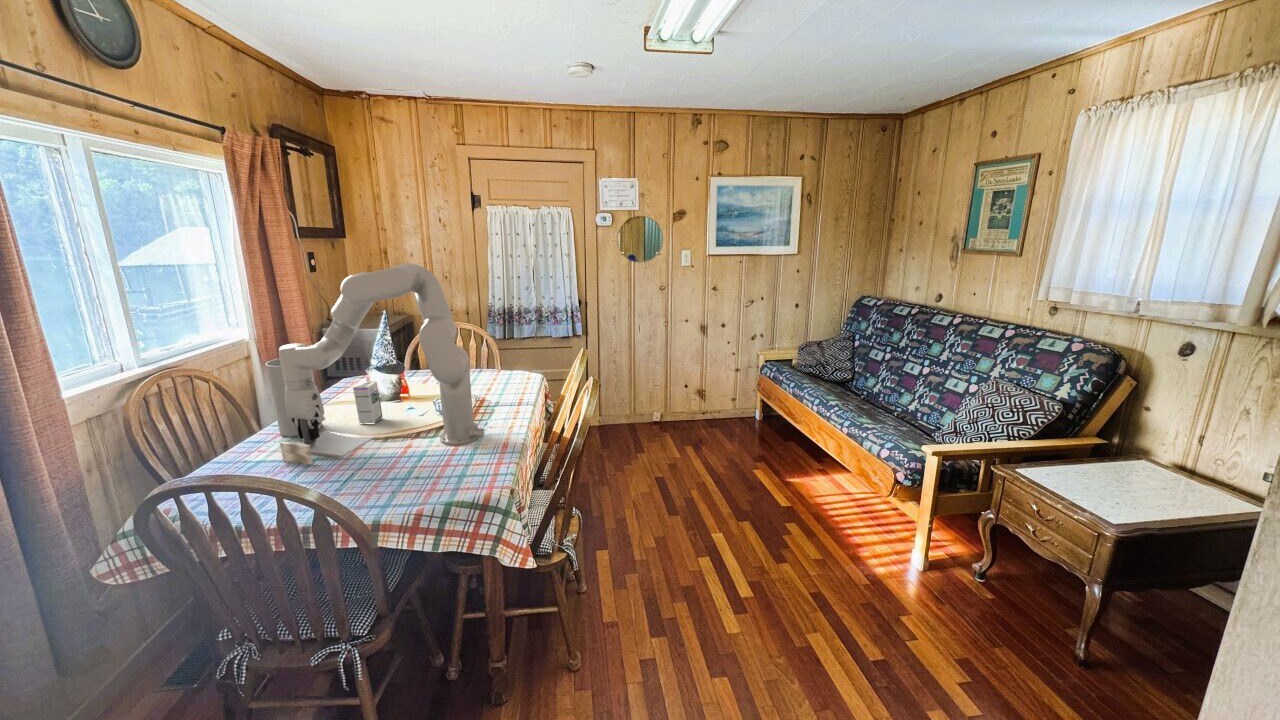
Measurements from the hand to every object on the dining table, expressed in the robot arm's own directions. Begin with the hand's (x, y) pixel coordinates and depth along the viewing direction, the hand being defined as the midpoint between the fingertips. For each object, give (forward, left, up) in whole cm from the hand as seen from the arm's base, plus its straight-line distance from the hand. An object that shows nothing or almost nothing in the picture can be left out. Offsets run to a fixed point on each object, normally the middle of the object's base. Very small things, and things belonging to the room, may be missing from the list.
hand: (309, 437), depth 163 cm
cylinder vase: (+15, -11, -4) cm, 19 cm away
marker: (0, 0, -3) cm, 3 cm away
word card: (-4, +9, -4) cm, 10 cm away
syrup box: (-3, -23, -4) cm, 24 cm away
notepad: (-4, -4, -4) cm, 7 cm away
